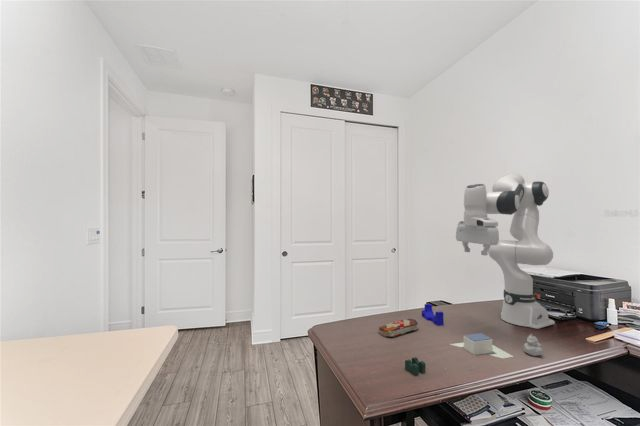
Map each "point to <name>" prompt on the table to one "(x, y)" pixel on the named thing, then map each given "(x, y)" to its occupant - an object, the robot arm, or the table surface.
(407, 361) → the mount
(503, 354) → the mat
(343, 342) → the table surface
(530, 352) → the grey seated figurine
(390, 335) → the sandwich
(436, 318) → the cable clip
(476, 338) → the card deck
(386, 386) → the table surface
